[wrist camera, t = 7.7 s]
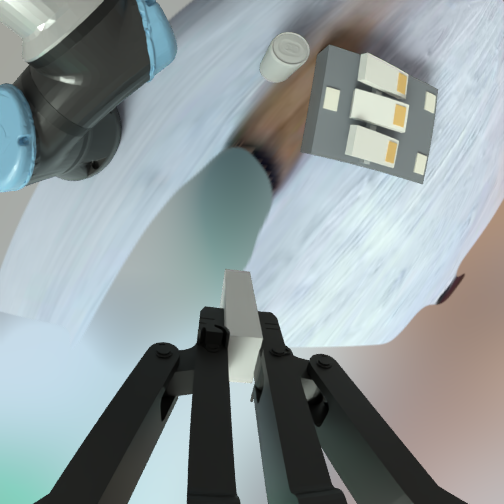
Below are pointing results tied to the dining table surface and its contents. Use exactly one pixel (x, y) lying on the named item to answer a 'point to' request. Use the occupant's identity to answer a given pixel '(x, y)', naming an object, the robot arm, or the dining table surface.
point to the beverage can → (284, 57)
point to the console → (338, 122)
